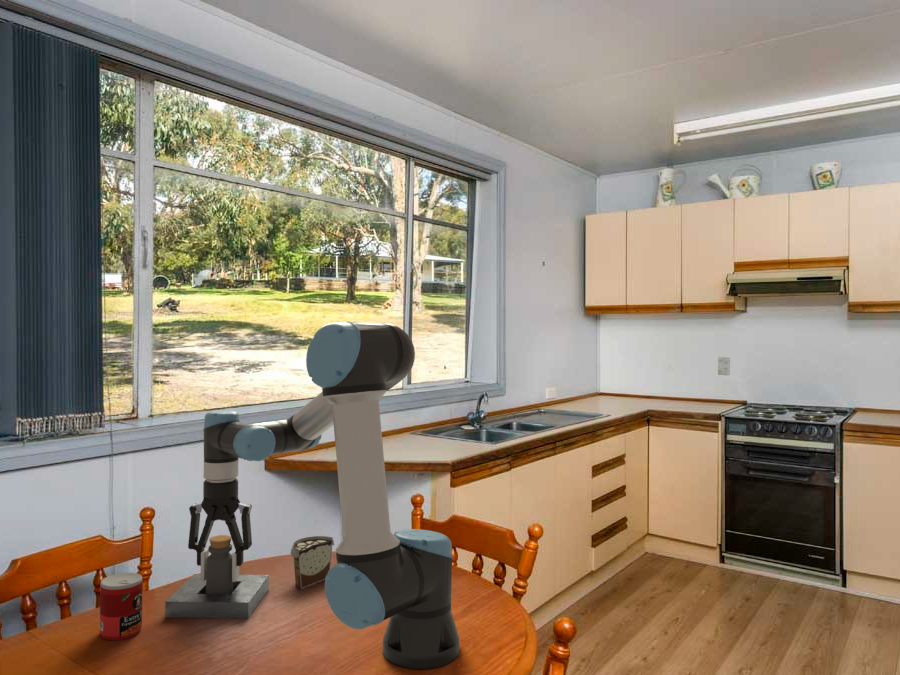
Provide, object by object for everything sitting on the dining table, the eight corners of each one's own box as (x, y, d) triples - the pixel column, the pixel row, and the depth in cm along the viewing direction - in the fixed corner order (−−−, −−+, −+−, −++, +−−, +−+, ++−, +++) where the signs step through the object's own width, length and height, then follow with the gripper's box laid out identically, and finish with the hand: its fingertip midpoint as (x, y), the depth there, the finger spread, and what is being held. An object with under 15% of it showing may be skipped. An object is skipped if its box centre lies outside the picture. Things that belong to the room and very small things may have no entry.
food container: (317, 570, 170) (317, 532, 170) (333, 576, 166) (334, 536, 166) (279, 585, 160) (279, 544, 160) (296, 591, 156) (296, 549, 156)
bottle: (225, 596, 153) (226, 532, 153) (237, 603, 149) (238, 538, 149) (201, 603, 149) (202, 537, 149) (212, 611, 145) (213, 544, 145)
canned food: (125, 643, 129) (125, 588, 129) (90, 638, 131) (91, 584, 131) (150, 626, 137) (151, 574, 137) (117, 622, 138) (117, 570, 138)
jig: (248, 618, 141) (248, 602, 141) (165, 617, 141) (165, 601, 141) (268, 589, 157) (268, 574, 157) (193, 588, 157) (194, 574, 157)
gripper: (267, 475, 152) (266, 573, 153) (185, 474, 152) (184, 572, 153) (258, 483, 145) (257, 586, 145) (171, 482, 145) (170, 585, 145)
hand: (220, 579), depth 149 cm, fingers open, 6 cm apart
